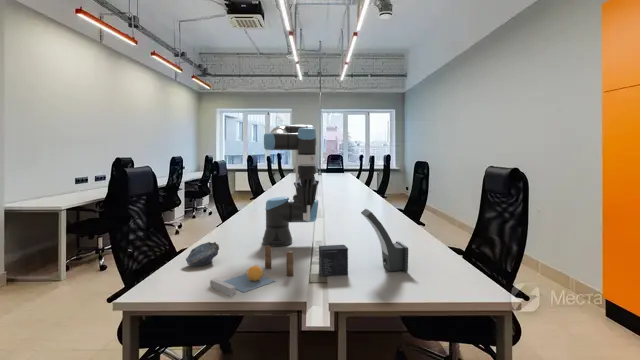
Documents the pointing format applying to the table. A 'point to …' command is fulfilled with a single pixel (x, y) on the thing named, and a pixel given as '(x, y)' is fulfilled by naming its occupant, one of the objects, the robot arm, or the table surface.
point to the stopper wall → (223, 286)
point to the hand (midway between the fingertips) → (306, 220)
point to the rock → (202, 254)
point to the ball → (254, 273)
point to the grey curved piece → (388, 246)
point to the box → (333, 260)
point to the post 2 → (289, 263)
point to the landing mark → (247, 282)
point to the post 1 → (267, 257)
